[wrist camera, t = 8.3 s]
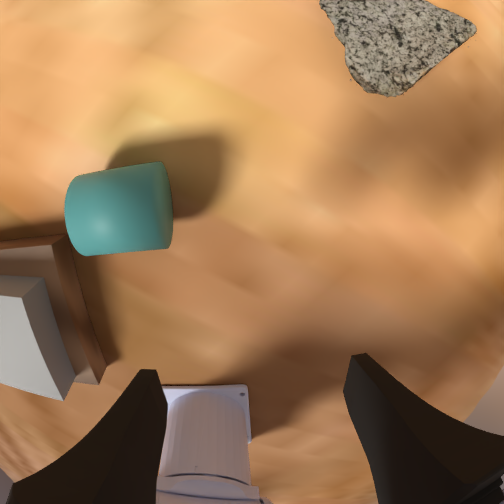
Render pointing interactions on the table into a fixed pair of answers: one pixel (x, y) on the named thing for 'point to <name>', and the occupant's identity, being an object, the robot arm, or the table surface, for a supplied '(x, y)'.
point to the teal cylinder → (120, 210)
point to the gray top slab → (31, 340)
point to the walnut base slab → (59, 297)
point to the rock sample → (394, 40)
